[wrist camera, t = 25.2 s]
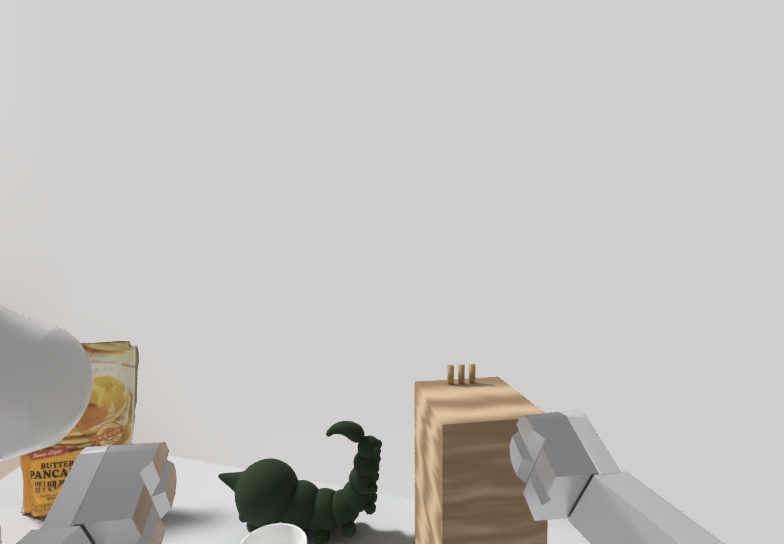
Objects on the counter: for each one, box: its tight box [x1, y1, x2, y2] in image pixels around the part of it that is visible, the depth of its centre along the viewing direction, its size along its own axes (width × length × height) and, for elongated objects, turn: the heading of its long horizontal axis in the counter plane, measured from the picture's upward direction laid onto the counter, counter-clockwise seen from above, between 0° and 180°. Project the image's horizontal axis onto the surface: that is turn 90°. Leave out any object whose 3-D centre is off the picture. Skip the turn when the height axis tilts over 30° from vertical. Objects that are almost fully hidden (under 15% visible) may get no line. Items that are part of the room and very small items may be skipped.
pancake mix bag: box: [20, 341, 139, 517], centre depth 74 cm, size 7×19×28 cm, turn 103°
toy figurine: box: [218, 421, 382, 544], centre depth 67 cm, size 9×19×25 cm
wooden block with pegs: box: [415, 364, 547, 544], centre depth 54 cm, size 14×12×28 cm
